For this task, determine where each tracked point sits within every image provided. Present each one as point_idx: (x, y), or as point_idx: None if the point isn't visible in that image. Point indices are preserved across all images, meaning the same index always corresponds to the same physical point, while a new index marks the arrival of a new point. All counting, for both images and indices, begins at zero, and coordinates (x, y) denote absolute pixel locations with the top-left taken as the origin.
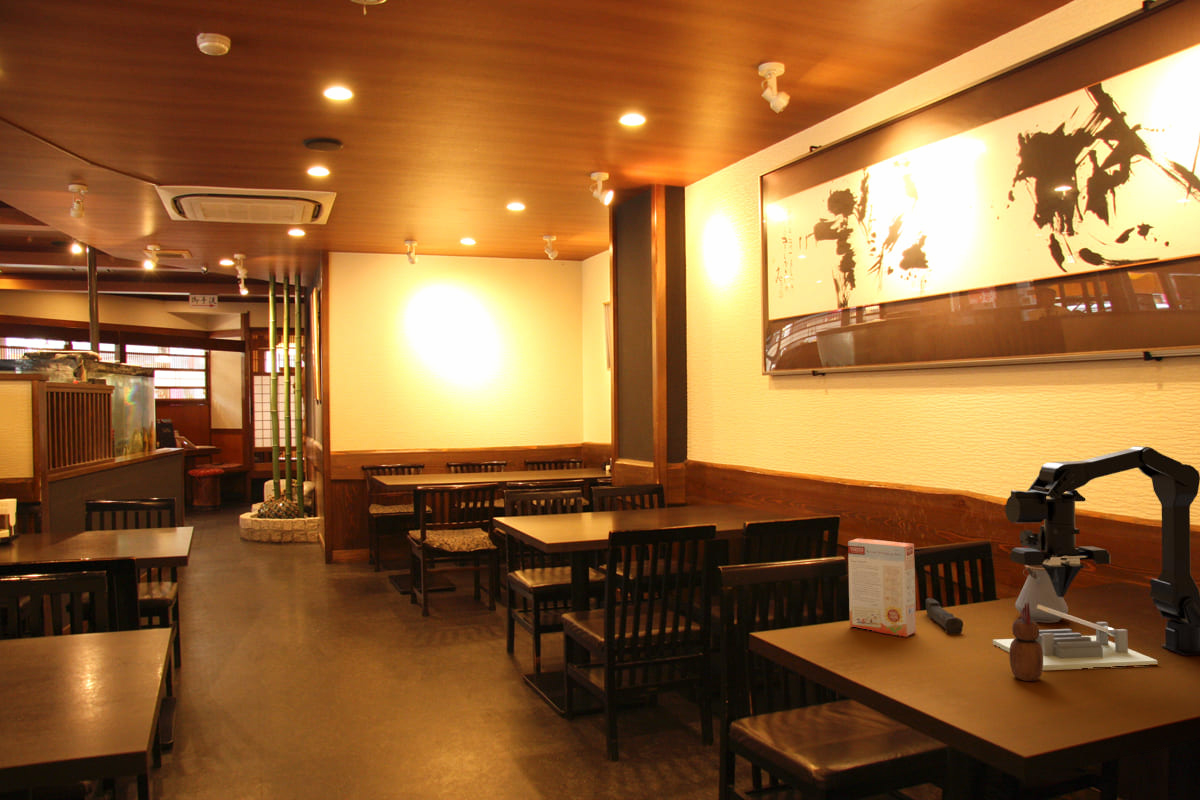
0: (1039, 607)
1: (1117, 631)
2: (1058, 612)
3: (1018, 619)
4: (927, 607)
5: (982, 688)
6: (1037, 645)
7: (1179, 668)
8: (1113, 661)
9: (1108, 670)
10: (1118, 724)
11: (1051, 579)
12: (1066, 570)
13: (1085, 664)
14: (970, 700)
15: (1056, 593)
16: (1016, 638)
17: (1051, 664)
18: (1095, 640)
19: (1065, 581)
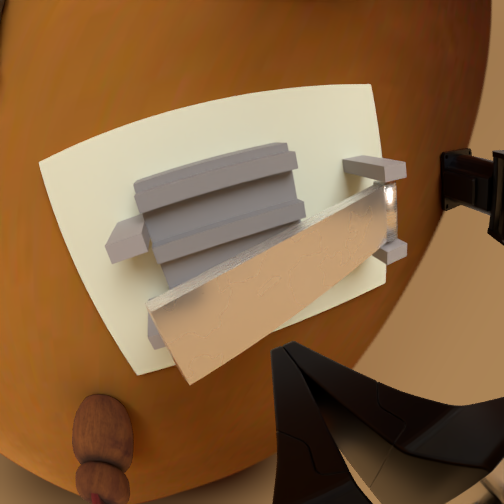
0: (155, 323)
1: (385, 260)
2: (228, 358)
3: (88, 499)
4: None
5: (52, 436)
6: (124, 472)
7: (398, 285)
8: (304, 314)
9: (275, 335)
10: (196, 480)
11: (279, 446)
12: (390, 495)
13: None
14: (51, 458)
15: (271, 364)
16: (83, 459)
17: (155, 368)
18: (352, 129)
19: (341, 448)
